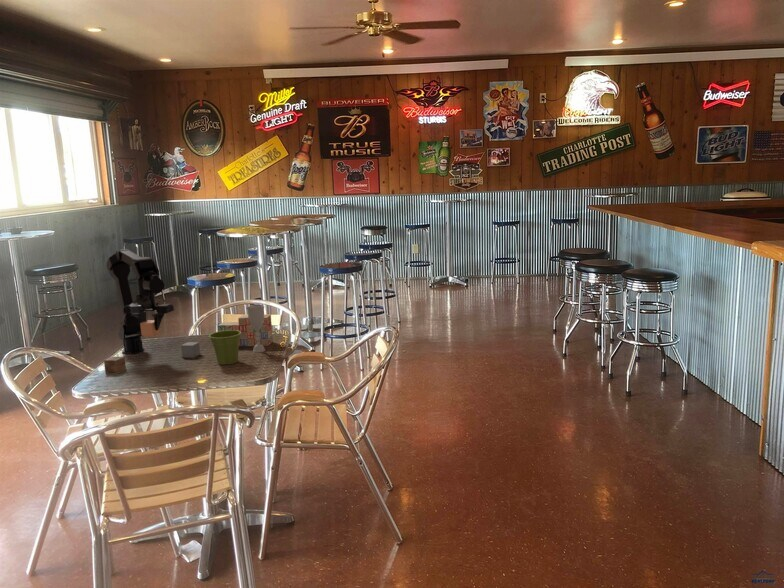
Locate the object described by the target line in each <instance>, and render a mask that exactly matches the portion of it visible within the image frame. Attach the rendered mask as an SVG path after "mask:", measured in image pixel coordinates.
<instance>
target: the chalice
mask: <svg viewBox="0 0 784 588" xmlns="http://www.w3.org/2000/svg"><path fill="white" fill-rule="evenodd" d="M264 308H265V305H258V304H257V305H250V306H246V307H245V309H246V310H247V315H248V319H249V322H250V324H251V326H252V327H253V329H255V330H256V336H257V338H256V340H257V345H255V346H253V349H252V353H263V352H265V351H266V349H265V346H263V345H262V344H260V342H259V341H260V338H259V335H260V334H259V329H261V327H262V324H263V321H264V315H265V312H264V311H265V309H264Z"/></svg>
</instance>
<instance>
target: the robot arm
mask: <svg viewBox="0 0 784 588" xmlns="http://www.w3.org/2000/svg"><path fill="white" fill-rule="evenodd" d="M106 269H107V271H108V273H109V275H110V277H111V278H113V280H114V281H115V284H116V289H117V293H118V297H119V303H120V307H121V311H122V317H121V320H120V327H119V330H118V333H117V335H118V338H119V339H120V340H122V342H123V343H122V344H123V349H124V350H123V351H122V352H121V354H137V353H140V352H142V351H144V350H146V349H145V348H144V347H143V340H142V337H143V336H142V334H141V326H140V323H142V322H145V321H147V312H154V313H152V314H151V316H152V317H153V320H154V323H155V329H156V331H157V330H158V329H159V326H160V327H161V324H162V320H163V318H164V316H165V314H169V313H171V312H173V311H175V308H174V307H175V306H174V305H173V304H172V303H162V304H159V302H157V301H156V296H157V295H158V294H159V293H161V292H163V290H164V289H165V283H164V281H163V280H162V279H161V278H160V277H159V276H160V270H159V269H158V266H157V265H156V263H155V261H154V259H152V258H151V257H148V256H139V254H138V255H137V254H136V253H135V252H132V251H131V249H128V248H125V249H118V250H116V251H115V253H113V254H112V255H111V256H109V258H108V259H107V261H106ZM131 271H132V272H133V274H134V275H135V280H136V284H137V291H138V293H137V294H136V295H135V300H133V296H132V291H131V287H130V282H129V276H130V274H131Z"/></svg>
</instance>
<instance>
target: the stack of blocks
mask: <svg viewBox="0 0 784 588" xmlns="http://www.w3.org/2000/svg"><path fill="white" fill-rule="evenodd" d="M225 330H238V331H241V334H240V339H239V347H254V346H255V345H257V340H256V338H257V336H256V330H255V329H253V327H252V326H251V324H250V322H249V319H248V314H242V315H240V316H239V317H238V321H223V322H221V323H219V324H217V332H219V331H225ZM259 334H260V335H259V338H260V341H259V342H260V344H262V345H263V347H267V346H268V347H269V346H270V345H272V343H273V342H274V341H273V325H272V315H271V314H264V321H263V324H262V327H261V329H259Z"/></svg>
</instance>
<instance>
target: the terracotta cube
mask: <svg viewBox="0 0 784 588" xmlns="http://www.w3.org/2000/svg"><path fill="white" fill-rule="evenodd" d="M140 326H141V334H142V336H141V337H145V336H146V337H149V336H150V337H151V336H152V337H153V336H154V337H155V336H156V335H159V334H160V333H161V332H162V331H161V325H160V326H159V329H158V330H157V331H156V329H155V323H154V319H153V320H152V319H148V320H147V319H146V321H145V322H142V323H140Z"/></svg>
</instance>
